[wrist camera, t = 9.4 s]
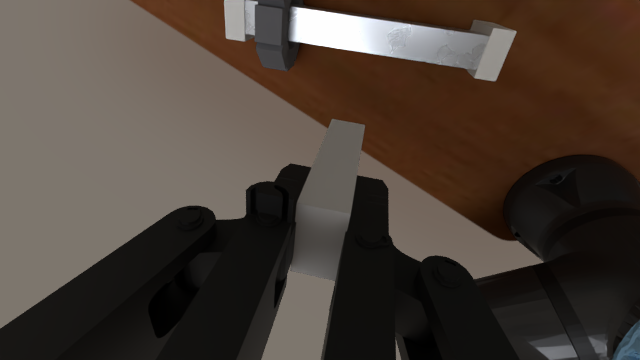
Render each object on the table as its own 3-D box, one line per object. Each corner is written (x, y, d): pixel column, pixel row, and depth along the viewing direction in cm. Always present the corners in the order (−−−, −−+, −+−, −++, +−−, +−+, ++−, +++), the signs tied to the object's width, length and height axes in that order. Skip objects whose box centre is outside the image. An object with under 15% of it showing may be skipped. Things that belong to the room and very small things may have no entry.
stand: (504, -8, 32) (532, -6, 26) (467, 88, 37) (483, 109, 31) (250, -43, 34) (221, -49, 28) (251, 53, 39) (227, 66, 33)
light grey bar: (491, 32, 30) (501, 36, 28) (478, 65, 32) (487, 73, 29) (246, -5, 32) (234, -3, 30) (247, 29, 34) (235, 33, 31)
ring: (306, -30, 33) (284, -33, 25) (299, 59, 38) (279, 78, 30) (283, -33, 33) (254, -37, 25) (280, 56, 38) (254, 74, 30)
